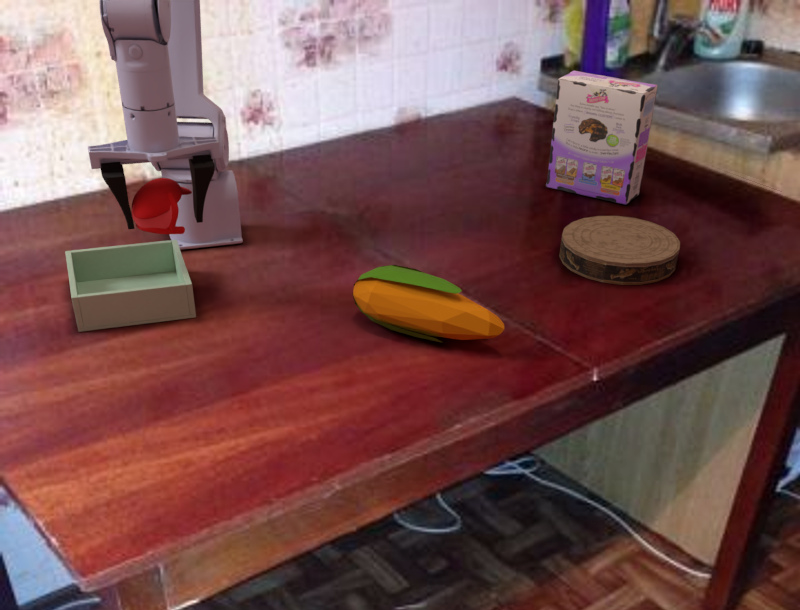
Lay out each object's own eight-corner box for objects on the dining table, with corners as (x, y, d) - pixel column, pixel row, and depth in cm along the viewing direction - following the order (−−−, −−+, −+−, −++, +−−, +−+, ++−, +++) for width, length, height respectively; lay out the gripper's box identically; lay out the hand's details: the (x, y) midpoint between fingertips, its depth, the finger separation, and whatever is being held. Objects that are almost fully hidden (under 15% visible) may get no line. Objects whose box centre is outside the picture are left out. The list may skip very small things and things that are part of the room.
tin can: (584, 289, 128) (587, 267, 126) (543, 240, 140) (545, 219, 138) (696, 279, 131) (701, 258, 129) (646, 232, 143) (650, 212, 141)
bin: (180, 271, 130) (176, 239, 127) (196, 317, 120) (192, 283, 117) (71, 283, 126) (64, 250, 123) (78, 332, 117) (71, 297, 114)
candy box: (640, 195, 154) (660, 83, 144) (625, 206, 150) (645, 93, 140) (560, 176, 160) (574, 67, 149) (544, 187, 156) (557, 76, 145)
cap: (164, 243, 113) (168, 189, 111) (119, 229, 115) (122, 176, 112) (199, 232, 120) (204, 182, 117) (156, 220, 122) (160, 170, 119)
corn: (371, 243, 119) (522, 281, 112) (373, 299, 124) (517, 339, 117) (338, 269, 114) (494, 311, 107) (342, 327, 120) (490, 370, 112)
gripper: (82, 119, 104) (104, 242, 113) (219, 109, 107) (230, 229, 116) (79, 99, 109) (100, 218, 118) (209, 90, 113) (221, 207, 121)
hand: (164, 222), depth 117 cm, fingers closed on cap, 7 cm apart
